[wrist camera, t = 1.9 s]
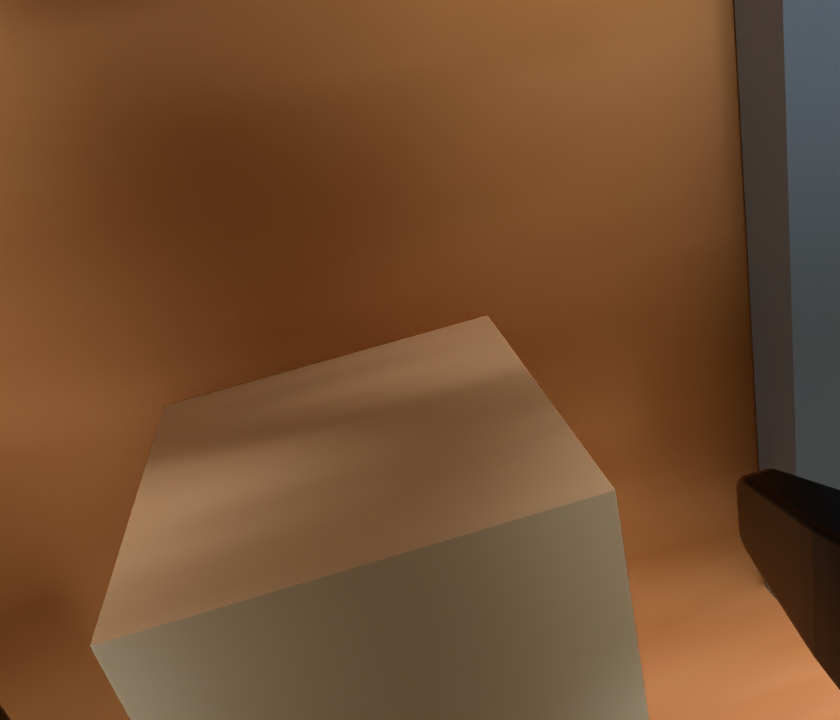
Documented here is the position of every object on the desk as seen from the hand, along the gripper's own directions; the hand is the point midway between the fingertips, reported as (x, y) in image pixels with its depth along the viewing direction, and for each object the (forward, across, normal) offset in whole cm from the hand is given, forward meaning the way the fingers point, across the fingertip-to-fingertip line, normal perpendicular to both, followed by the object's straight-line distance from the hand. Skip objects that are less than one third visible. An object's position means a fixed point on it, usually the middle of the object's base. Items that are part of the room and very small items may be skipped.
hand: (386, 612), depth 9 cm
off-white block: (+2, 0, 0) cm, 3 cm away
